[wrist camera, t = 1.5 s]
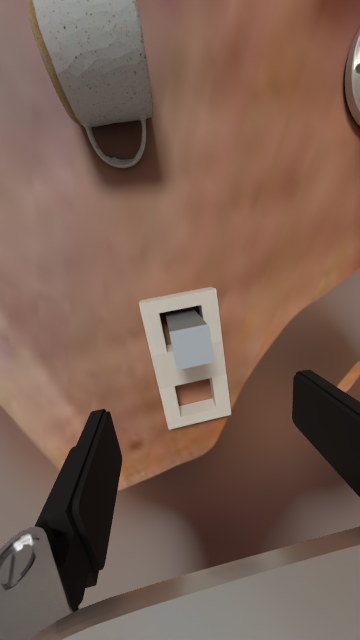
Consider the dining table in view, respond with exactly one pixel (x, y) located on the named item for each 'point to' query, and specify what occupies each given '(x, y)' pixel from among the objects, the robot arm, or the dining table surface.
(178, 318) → the plug
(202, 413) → the jack panel
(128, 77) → the ceramic mug
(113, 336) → the dining table surface
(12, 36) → the dining table surface
